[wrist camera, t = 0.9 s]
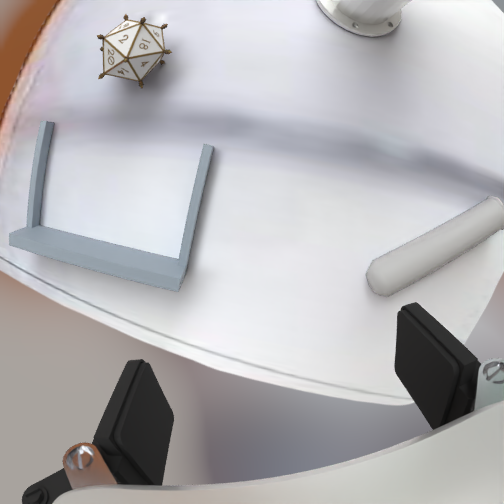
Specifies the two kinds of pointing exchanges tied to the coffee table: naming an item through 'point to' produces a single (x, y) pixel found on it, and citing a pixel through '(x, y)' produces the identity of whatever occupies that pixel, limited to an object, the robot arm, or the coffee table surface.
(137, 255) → the tray
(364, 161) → the coffee table surface
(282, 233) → the coffee table surface
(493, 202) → the tube
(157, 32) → the game die
